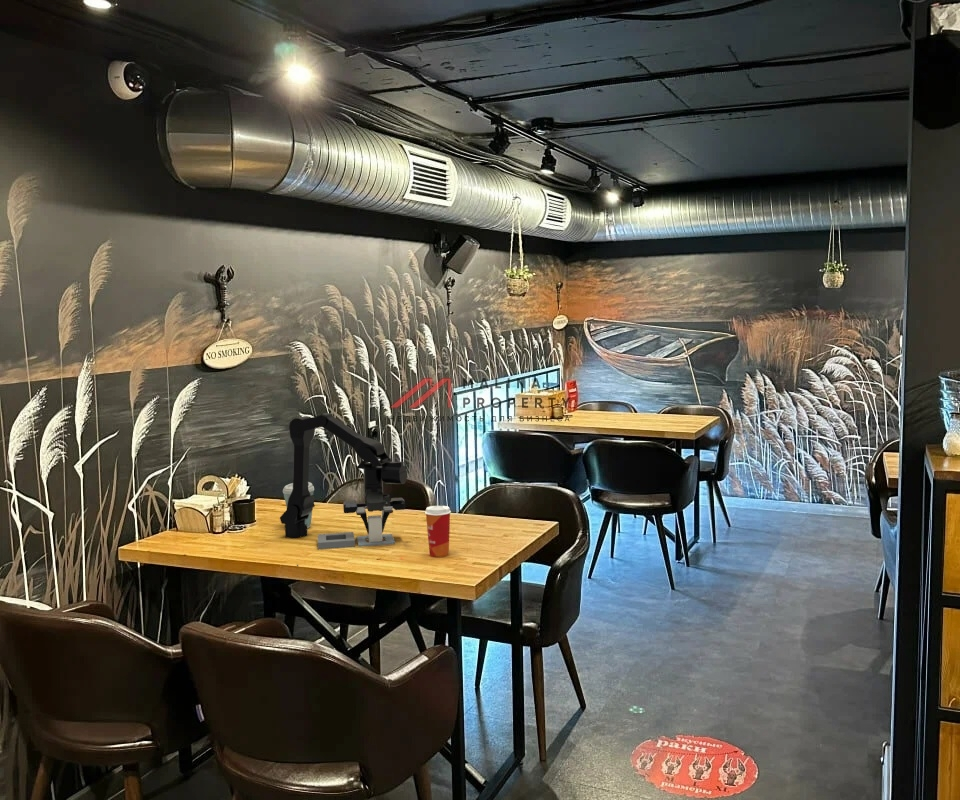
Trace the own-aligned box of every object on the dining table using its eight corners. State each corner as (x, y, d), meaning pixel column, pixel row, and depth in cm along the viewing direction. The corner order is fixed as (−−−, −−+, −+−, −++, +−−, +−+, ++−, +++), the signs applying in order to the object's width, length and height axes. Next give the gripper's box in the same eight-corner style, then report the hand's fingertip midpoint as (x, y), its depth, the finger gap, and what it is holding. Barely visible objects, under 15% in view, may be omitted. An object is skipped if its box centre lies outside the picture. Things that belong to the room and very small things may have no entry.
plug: (369, 544, 257) (368, 518, 257) (368, 541, 261) (367, 516, 261) (382, 543, 258) (381, 517, 258) (381, 540, 262) (380, 515, 261)
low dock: (358, 551, 254) (358, 544, 253) (356, 542, 264) (356, 536, 264) (395, 548, 256) (394, 542, 255) (391, 540, 266) (391, 533, 266)
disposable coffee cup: (309, 531, 281) (307, 487, 279) (278, 531, 283) (276, 486, 281) (320, 524, 291) (318, 481, 290) (291, 523, 293) (289, 481, 292)
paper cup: (427, 551, 252) (425, 505, 250) (453, 551, 251) (451, 504, 250) (424, 558, 244) (423, 510, 243) (451, 558, 244) (449, 510, 242)
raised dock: (318, 554, 251) (317, 542, 251) (318, 545, 262) (317, 534, 262) (355, 551, 253) (354, 540, 253) (353, 542, 264) (353, 531, 264)
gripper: (343, 489, 249) (345, 541, 250) (406, 485, 252) (408, 536, 254) (342, 482, 260) (344, 532, 261) (402, 479, 263) (404, 528, 264)
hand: (375, 532), depth 260 cm, fingers closed on plug, 4 cm apart
